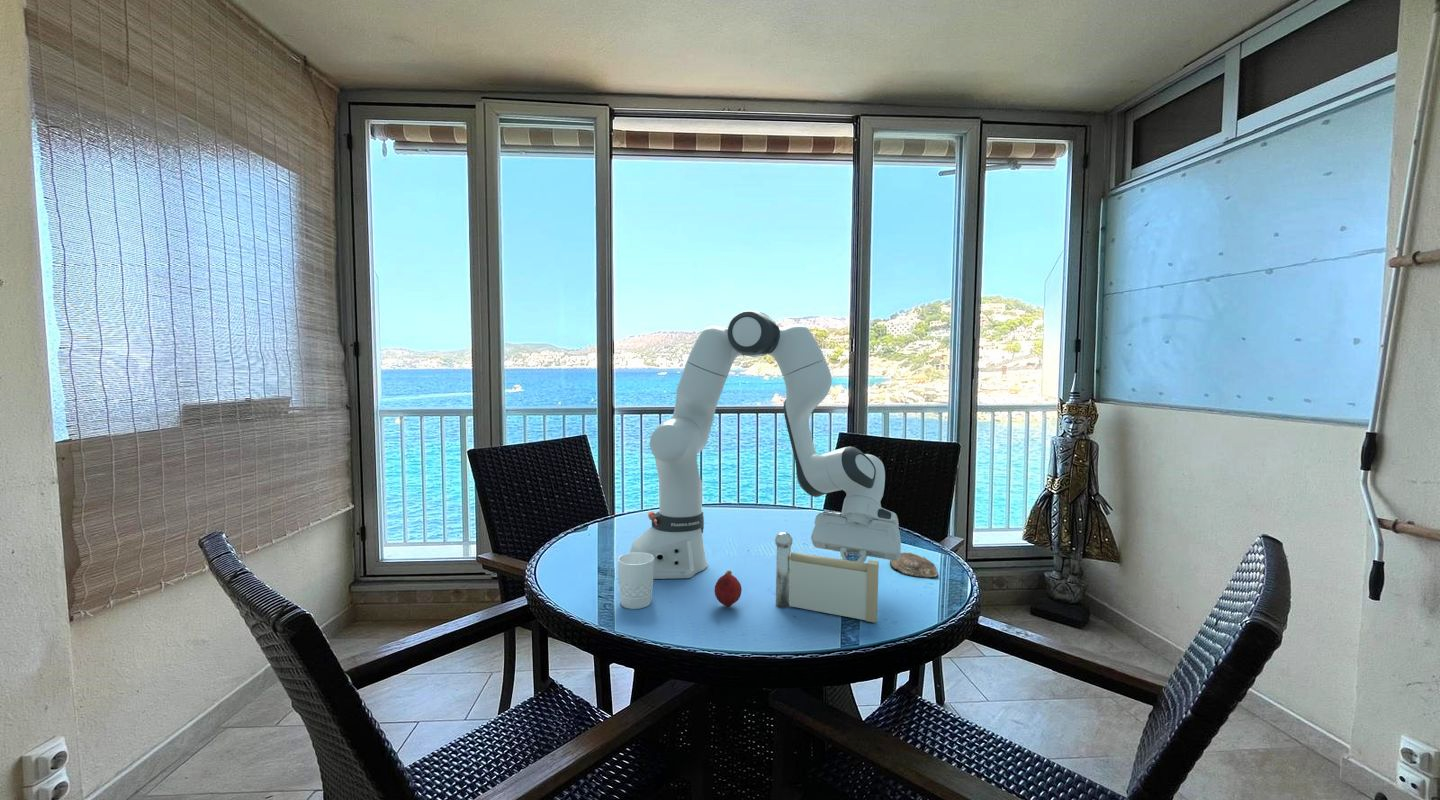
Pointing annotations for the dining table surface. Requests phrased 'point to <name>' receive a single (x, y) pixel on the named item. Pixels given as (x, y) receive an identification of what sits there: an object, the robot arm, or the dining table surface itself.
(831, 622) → the dining table surface
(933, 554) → the dining table surface
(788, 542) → the gate post
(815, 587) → the gate leaf
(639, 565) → the white cup
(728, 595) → the onion
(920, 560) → the shell
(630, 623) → the dining table surface
